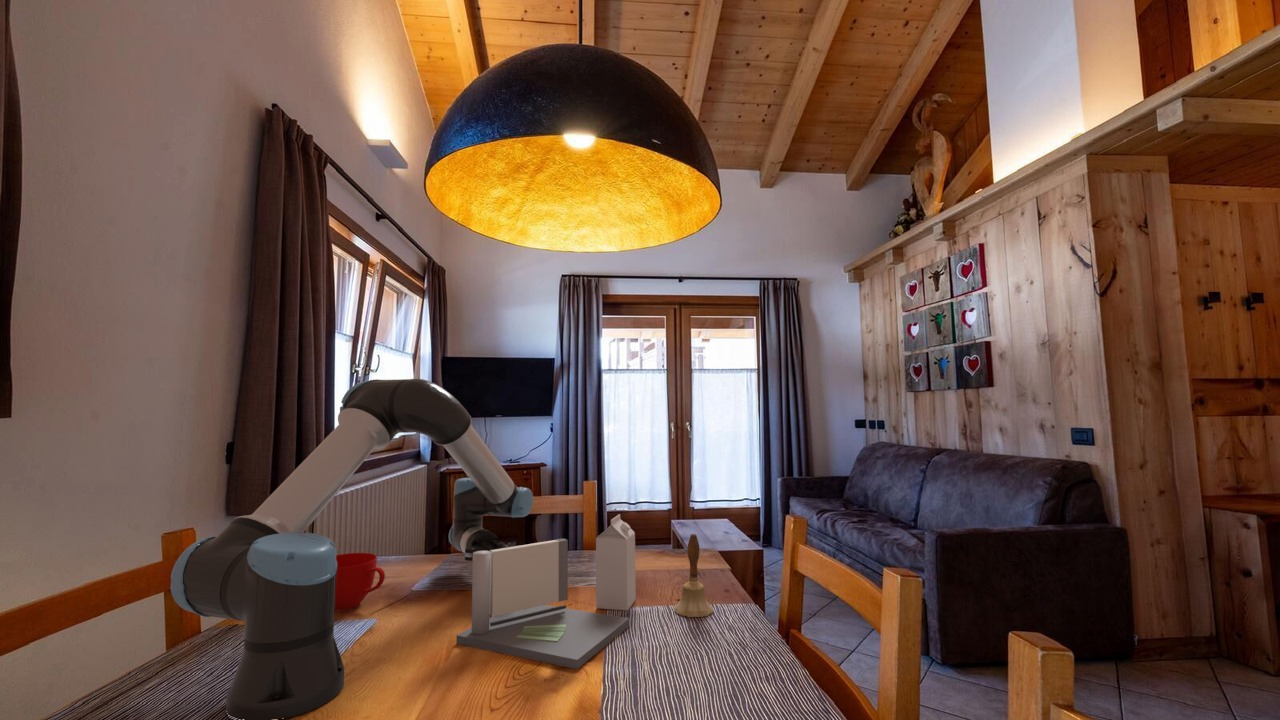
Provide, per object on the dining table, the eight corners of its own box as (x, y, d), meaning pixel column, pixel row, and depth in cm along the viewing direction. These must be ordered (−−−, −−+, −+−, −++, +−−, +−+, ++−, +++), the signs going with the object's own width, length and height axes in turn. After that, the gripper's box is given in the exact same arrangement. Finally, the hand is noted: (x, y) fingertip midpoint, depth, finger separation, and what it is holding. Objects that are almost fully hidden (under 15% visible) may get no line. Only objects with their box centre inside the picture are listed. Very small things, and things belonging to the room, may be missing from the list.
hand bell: (712, 604, 121) (711, 530, 123) (713, 618, 113) (712, 539, 115) (674, 603, 122) (673, 530, 124) (673, 617, 114) (672, 538, 116)
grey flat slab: (577, 669, 92) (577, 658, 92) (456, 643, 102) (456, 634, 102) (629, 626, 110) (629, 617, 110) (522, 608, 120) (522, 600, 121)
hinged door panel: (474, 636, 102) (476, 555, 103) (469, 630, 104) (470, 552, 106) (569, 612, 113) (569, 540, 114) (561, 608, 116) (562, 537, 117)
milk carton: (596, 609, 119) (595, 519, 121) (605, 598, 126) (605, 513, 128) (627, 611, 118) (626, 520, 120) (635, 600, 125) (634, 514, 126)
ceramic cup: (359, 621, 114) (361, 571, 115) (295, 613, 119) (297, 565, 120) (402, 600, 126) (404, 555, 127) (342, 594, 131) (344, 551, 132)
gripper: (504, 555, 143) (544, 577, 124) (454, 564, 136) (488, 588, 117) (504, 526, 144) (544, 543, 125) (454, 533, 136) (488, 552, 117)
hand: (517, 565), depth 121 cm, fingers closed
